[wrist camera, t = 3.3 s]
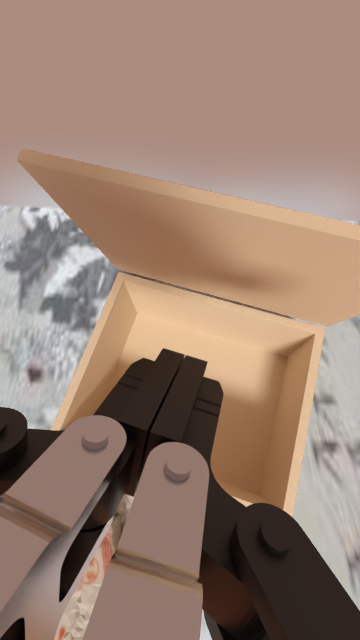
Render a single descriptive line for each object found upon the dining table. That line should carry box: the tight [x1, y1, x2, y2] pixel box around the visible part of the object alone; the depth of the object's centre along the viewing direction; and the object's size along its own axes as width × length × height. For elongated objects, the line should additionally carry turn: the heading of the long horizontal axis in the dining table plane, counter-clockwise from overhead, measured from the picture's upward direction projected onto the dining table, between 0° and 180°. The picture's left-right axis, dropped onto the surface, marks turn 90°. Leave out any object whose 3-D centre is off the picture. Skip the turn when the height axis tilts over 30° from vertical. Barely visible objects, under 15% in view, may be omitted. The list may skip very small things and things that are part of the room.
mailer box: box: [51, 272, 325, 517], centre depth 25 cm, size 16×13×8 cm
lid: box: [17, 149, 360, 327], centre depth 17 cm, size 16×13×1 cm
